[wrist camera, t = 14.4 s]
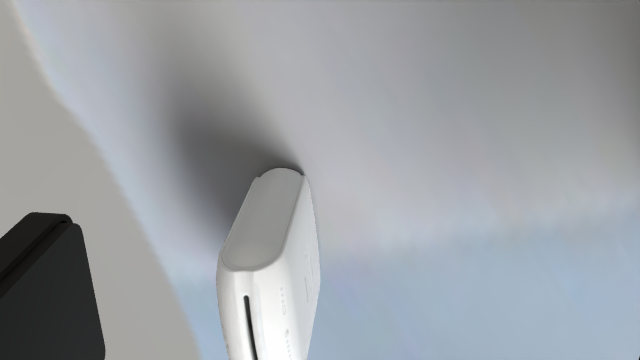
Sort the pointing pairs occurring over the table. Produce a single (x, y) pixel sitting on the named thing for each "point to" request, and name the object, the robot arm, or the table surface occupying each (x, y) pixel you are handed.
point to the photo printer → (270, 271)
